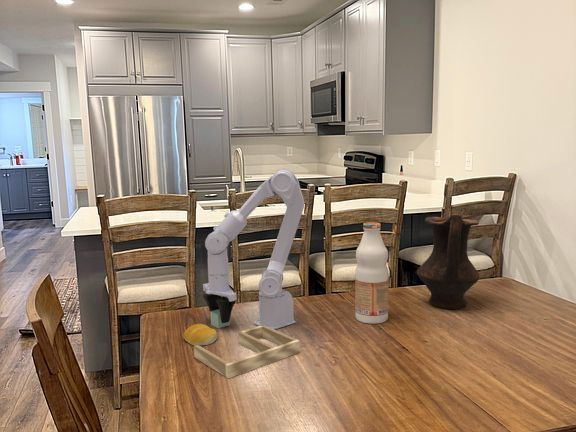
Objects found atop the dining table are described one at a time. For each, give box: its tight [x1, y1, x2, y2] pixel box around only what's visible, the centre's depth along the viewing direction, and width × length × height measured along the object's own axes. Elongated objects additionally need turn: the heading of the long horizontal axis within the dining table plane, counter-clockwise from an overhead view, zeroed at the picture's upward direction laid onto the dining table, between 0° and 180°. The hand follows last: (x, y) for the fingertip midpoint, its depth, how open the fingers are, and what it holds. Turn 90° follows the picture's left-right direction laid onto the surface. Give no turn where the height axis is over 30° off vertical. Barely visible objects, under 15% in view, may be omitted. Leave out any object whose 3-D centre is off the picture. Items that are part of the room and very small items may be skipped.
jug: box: [416, 213, 480, 310], centre depth 159 cm, size 21×18×30 cm
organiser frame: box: [193, 325, 301, 379], centre depth 128 cm, size 21×15×3 cm
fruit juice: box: [354, 221, 389, 325], centre depth 149 cm, size 9×9×28 cm
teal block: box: [209, 309, 231, 329], centre depth 149 cm, size 4×4×4 cm
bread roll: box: [183, 323, 218, 347], centre depth 138 cm, size 8×9×4 cm
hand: (220, 319), depth 149 cm, fingers open, 5 cm apart
